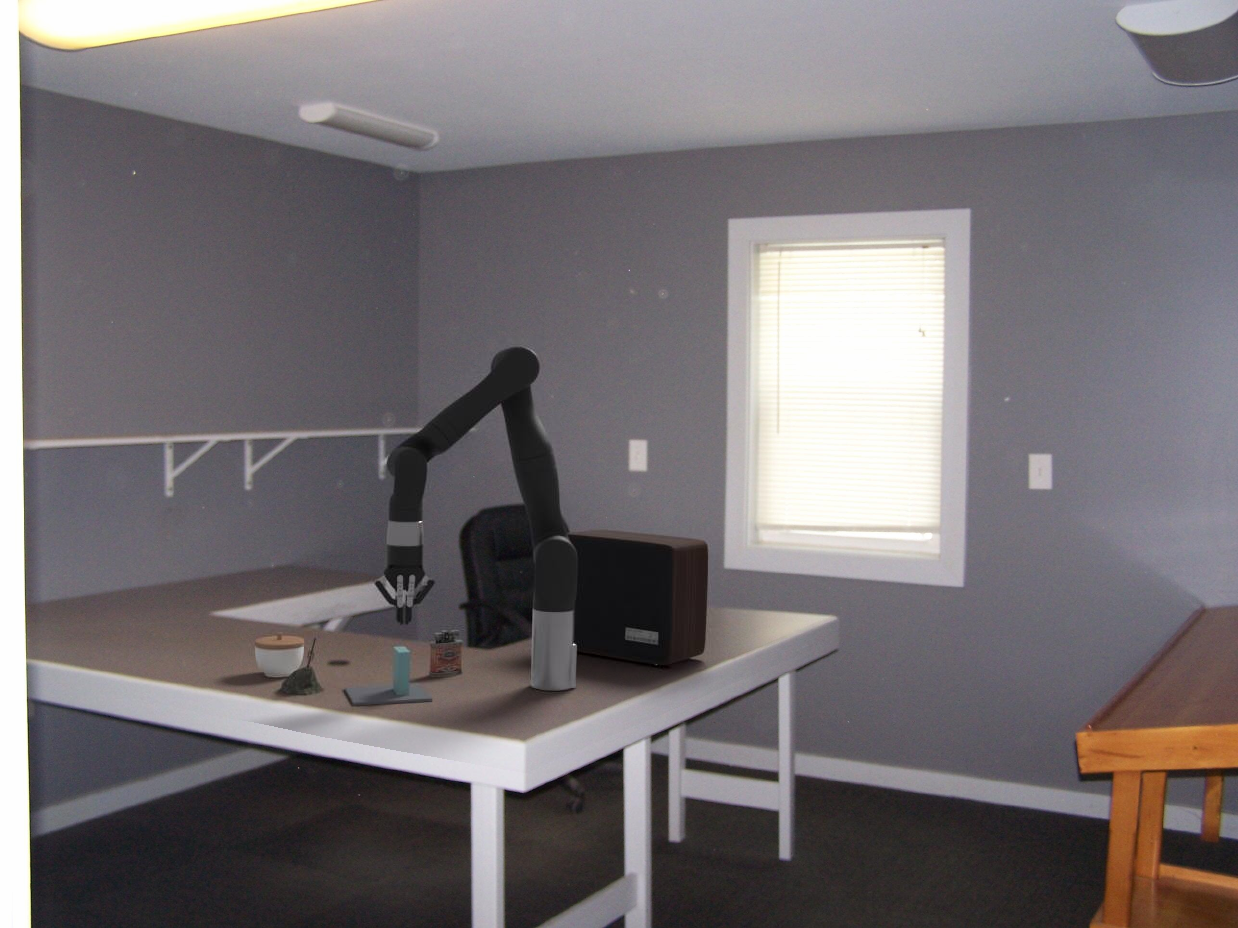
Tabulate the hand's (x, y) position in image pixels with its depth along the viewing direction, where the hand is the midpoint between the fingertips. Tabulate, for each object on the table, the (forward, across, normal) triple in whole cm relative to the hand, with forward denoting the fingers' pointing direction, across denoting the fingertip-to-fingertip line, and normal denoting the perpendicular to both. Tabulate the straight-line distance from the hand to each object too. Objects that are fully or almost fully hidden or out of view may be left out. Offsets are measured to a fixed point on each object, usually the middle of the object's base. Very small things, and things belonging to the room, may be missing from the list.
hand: (403, 624), depth 257 cm
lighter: (+15, +13, +17) cm, 26 cm away
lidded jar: (+15, -23, +25) cm, 37 cm away
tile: (+14, 0, 0) cm, 14 cm away
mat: (+15, -3, 0) cm, 15 cm away
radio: (+15, +62, +29) cm, 70 cm away
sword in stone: (+16, -20, +9) cm, 27 cm away
